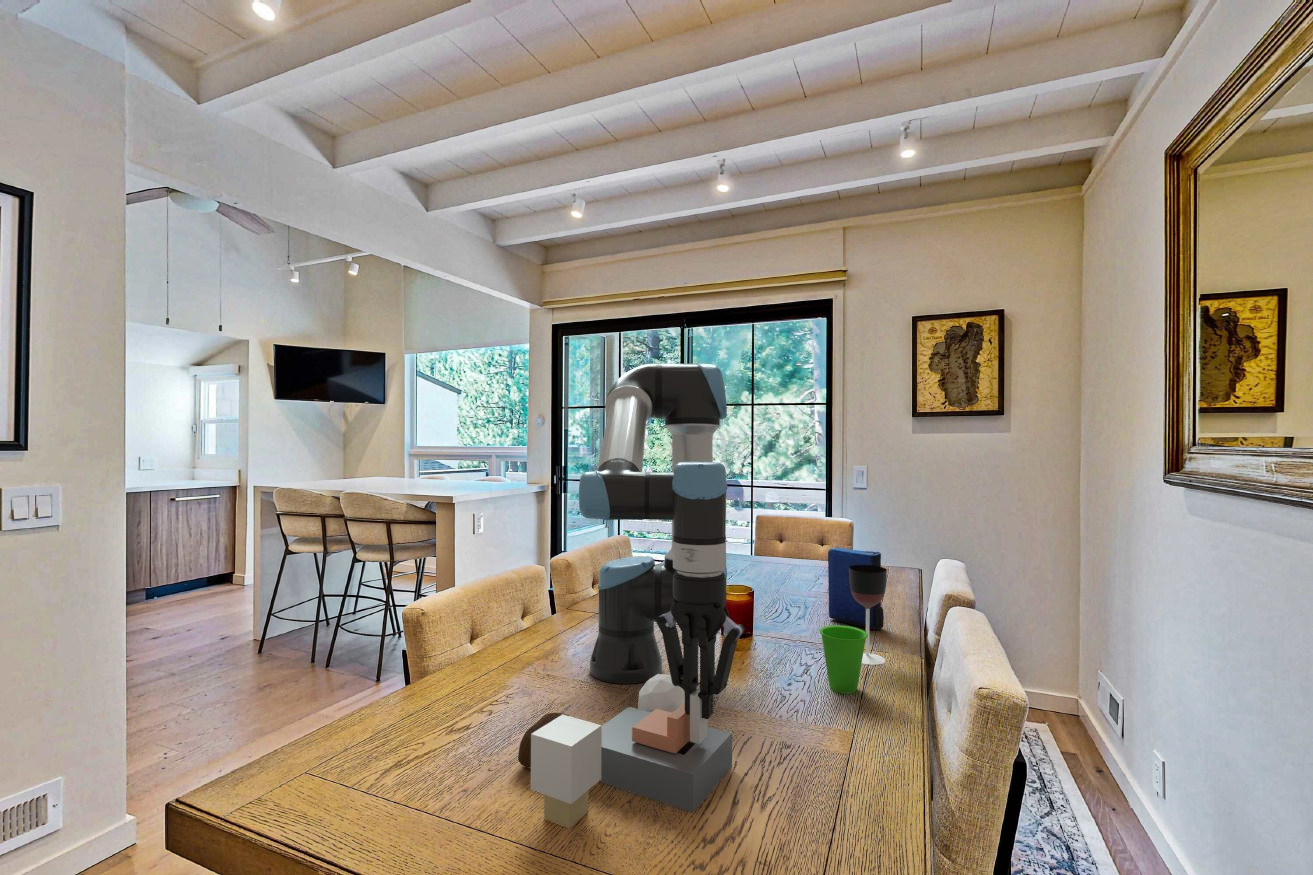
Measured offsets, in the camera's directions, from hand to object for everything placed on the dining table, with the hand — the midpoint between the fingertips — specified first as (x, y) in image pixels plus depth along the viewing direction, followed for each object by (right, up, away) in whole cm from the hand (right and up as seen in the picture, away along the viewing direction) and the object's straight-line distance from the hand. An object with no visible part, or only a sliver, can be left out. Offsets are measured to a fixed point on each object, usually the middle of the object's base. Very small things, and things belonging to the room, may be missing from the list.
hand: (698, 738), depth 86 cm
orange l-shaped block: (-5, -1, +2) cm, 5 cm away
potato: (-22, -7, +6) cm, 24 cm away
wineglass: (+41, -7, +50) cm, 65 cm away
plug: (-18, -6, -8) cm, 20 cm away
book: (+47, -7, +75) cm, 89 cm away
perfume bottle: (-4, -7, +15) cm, 17 cm away
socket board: (-6, -6, +3) cm, 9 cm away
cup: (+31, -7, +33) cm, 46 cm away
